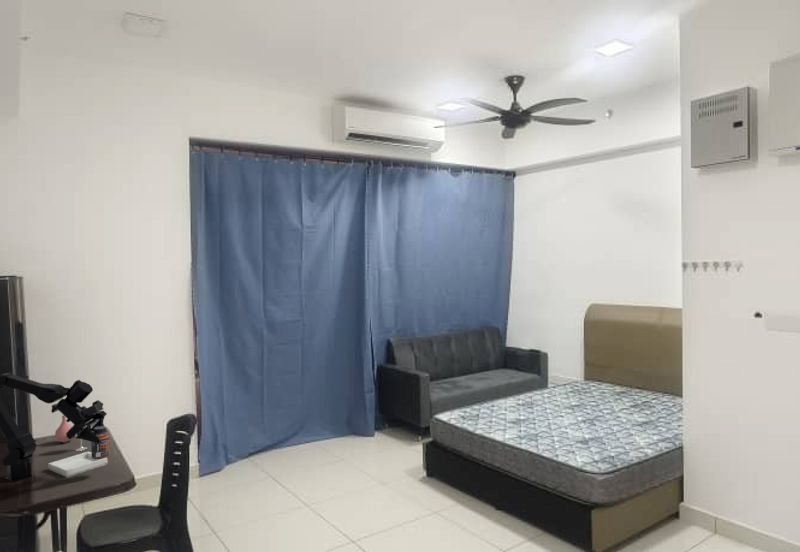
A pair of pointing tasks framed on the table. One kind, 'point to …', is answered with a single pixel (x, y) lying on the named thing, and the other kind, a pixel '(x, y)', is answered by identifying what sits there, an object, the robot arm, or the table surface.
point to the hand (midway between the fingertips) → (103, 439)
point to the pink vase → (62, 431)
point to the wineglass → (81, 445)
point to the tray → (76, 464)
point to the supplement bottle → (100, 448)
